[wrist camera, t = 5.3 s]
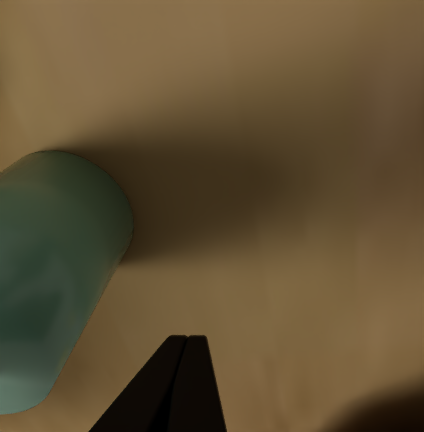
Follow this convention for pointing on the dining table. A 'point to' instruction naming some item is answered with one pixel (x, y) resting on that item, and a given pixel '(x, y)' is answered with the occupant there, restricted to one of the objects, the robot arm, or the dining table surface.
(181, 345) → the robot arm
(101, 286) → the bottle
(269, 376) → the dining table surface
